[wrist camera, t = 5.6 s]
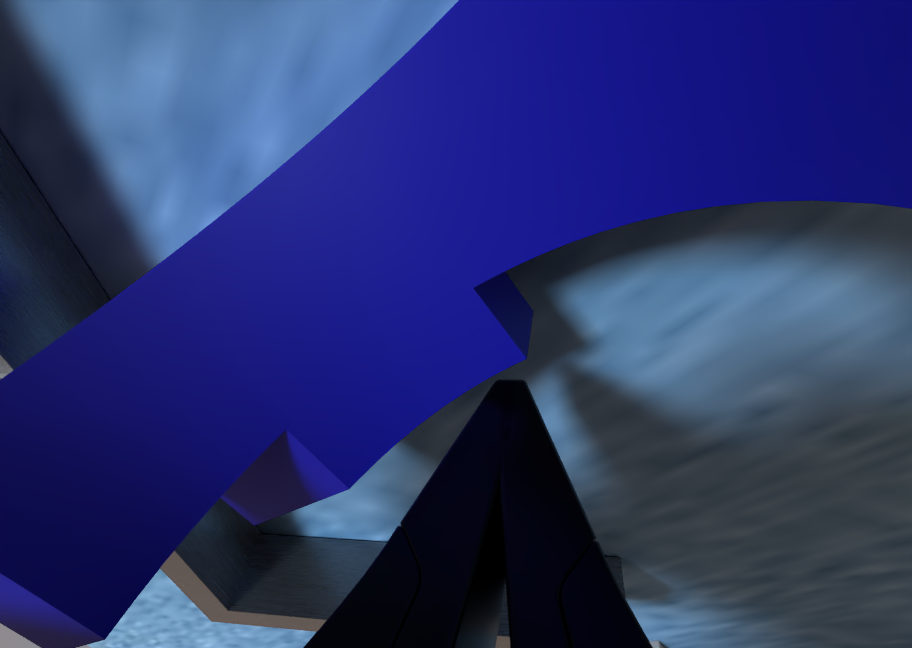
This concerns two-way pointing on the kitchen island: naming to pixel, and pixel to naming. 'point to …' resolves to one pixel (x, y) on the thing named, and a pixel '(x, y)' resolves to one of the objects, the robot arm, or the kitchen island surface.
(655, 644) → the hinge
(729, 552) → the kitchen island surface
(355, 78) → the kitchen island surface
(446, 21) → the blue stepped block
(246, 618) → the rail bay
